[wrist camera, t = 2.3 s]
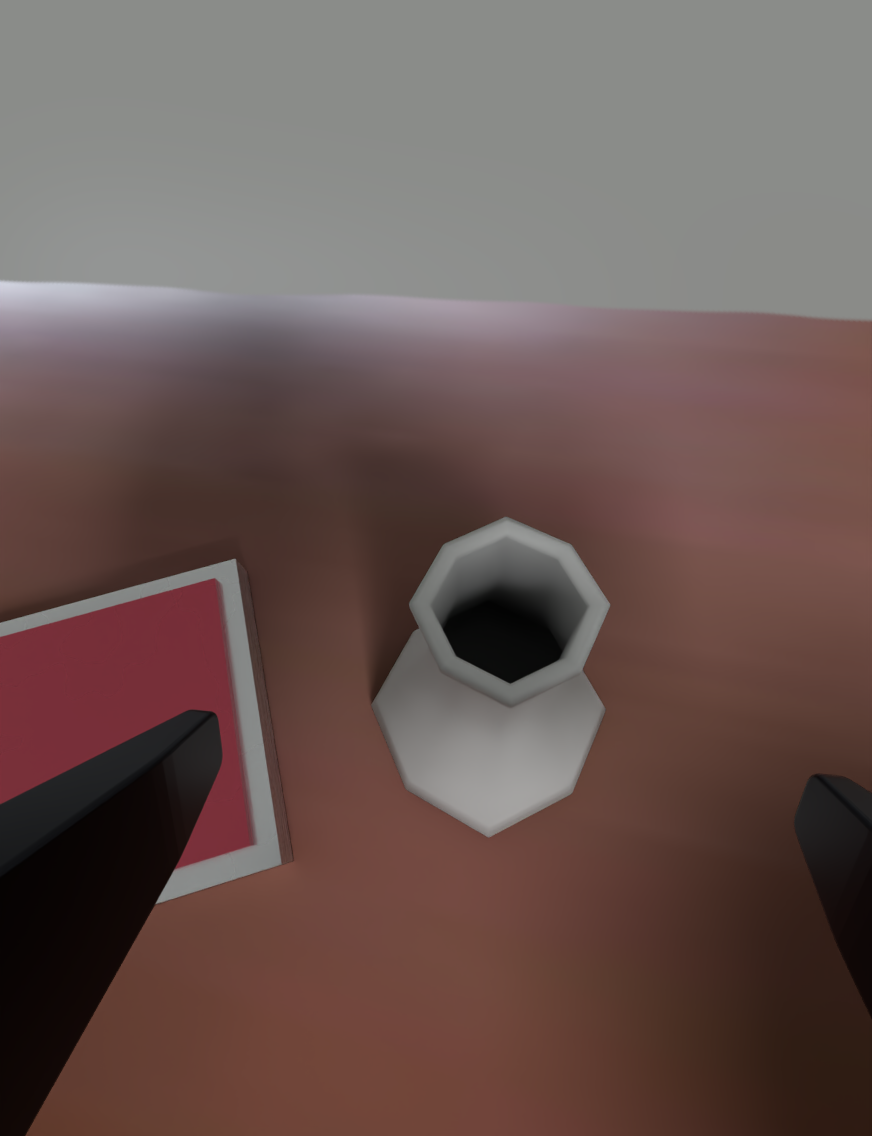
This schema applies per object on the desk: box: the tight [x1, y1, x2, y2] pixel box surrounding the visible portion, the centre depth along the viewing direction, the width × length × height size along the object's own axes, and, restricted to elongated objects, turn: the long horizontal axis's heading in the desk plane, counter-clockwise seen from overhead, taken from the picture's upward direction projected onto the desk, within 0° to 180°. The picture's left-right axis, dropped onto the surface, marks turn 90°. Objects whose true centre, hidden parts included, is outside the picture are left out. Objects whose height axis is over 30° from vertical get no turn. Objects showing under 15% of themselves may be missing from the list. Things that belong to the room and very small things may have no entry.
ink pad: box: [0, 559, 293, 905], centre depth 18 cm, size 10×10×2 cm
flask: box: [371, 517, 610, 838], centre depth 14 cm, size 7×7×10 cm
